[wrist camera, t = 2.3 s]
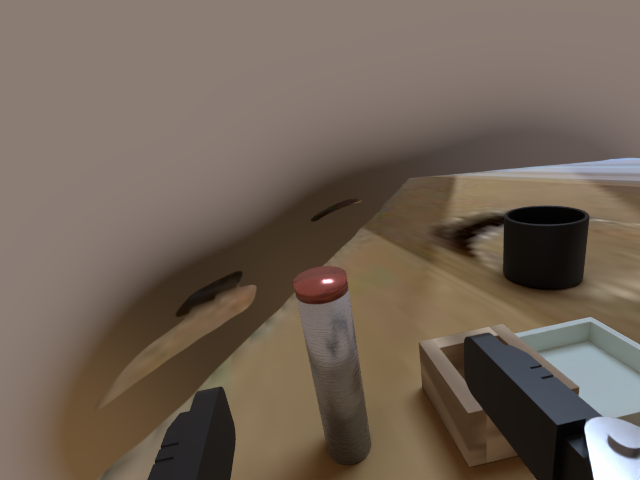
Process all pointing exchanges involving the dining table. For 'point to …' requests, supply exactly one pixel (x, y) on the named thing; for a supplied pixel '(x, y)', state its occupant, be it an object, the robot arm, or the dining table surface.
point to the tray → (594, 364)
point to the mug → (545, 246)
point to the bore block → (469, 394)
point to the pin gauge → (334, 361)
